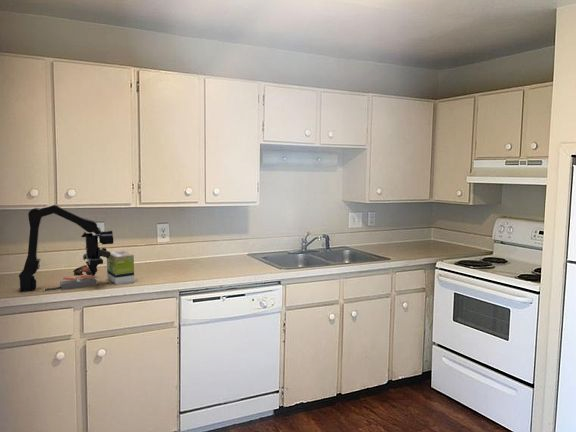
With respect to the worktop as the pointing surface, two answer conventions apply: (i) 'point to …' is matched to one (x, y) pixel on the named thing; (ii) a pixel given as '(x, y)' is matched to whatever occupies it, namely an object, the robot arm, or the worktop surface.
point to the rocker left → (69, 278)
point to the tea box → (120, 267)
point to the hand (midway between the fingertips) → (93, 275)
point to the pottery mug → (83, 269)
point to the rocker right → (86, 276)
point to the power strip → (75, 284)
